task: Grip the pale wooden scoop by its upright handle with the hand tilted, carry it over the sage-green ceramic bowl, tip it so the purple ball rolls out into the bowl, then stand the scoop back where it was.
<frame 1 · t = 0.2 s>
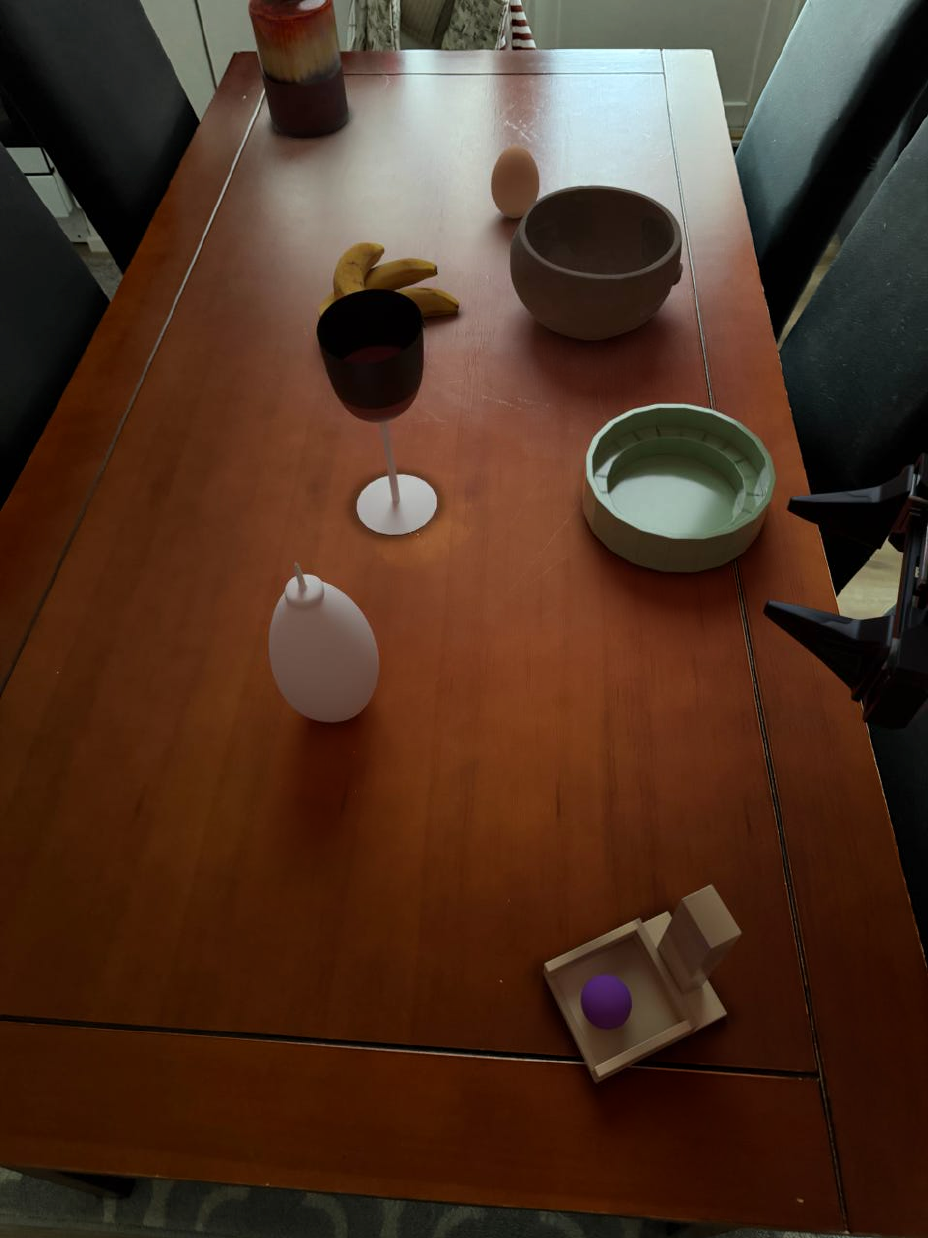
hand: (776, 552, 59), 16 cm above the table, tool horizontal, fingers open, 9 cm apart
vase: (310, 119, 126), on the table
egg: (514, 216, 110), on the table
scoop: (675, 973, 60), on the table, touching ball
banana: (391, 326, 99), on the table
green bowl: (670, 505, 83), on the table
bowl: (590, 312, 99), on the table
sauce bottle: (339, 703, 72), on the table
ball: (606, 1002, 57), point 2 cm above the table, touching scoop
wineglass: (397, 505, 84), on the table
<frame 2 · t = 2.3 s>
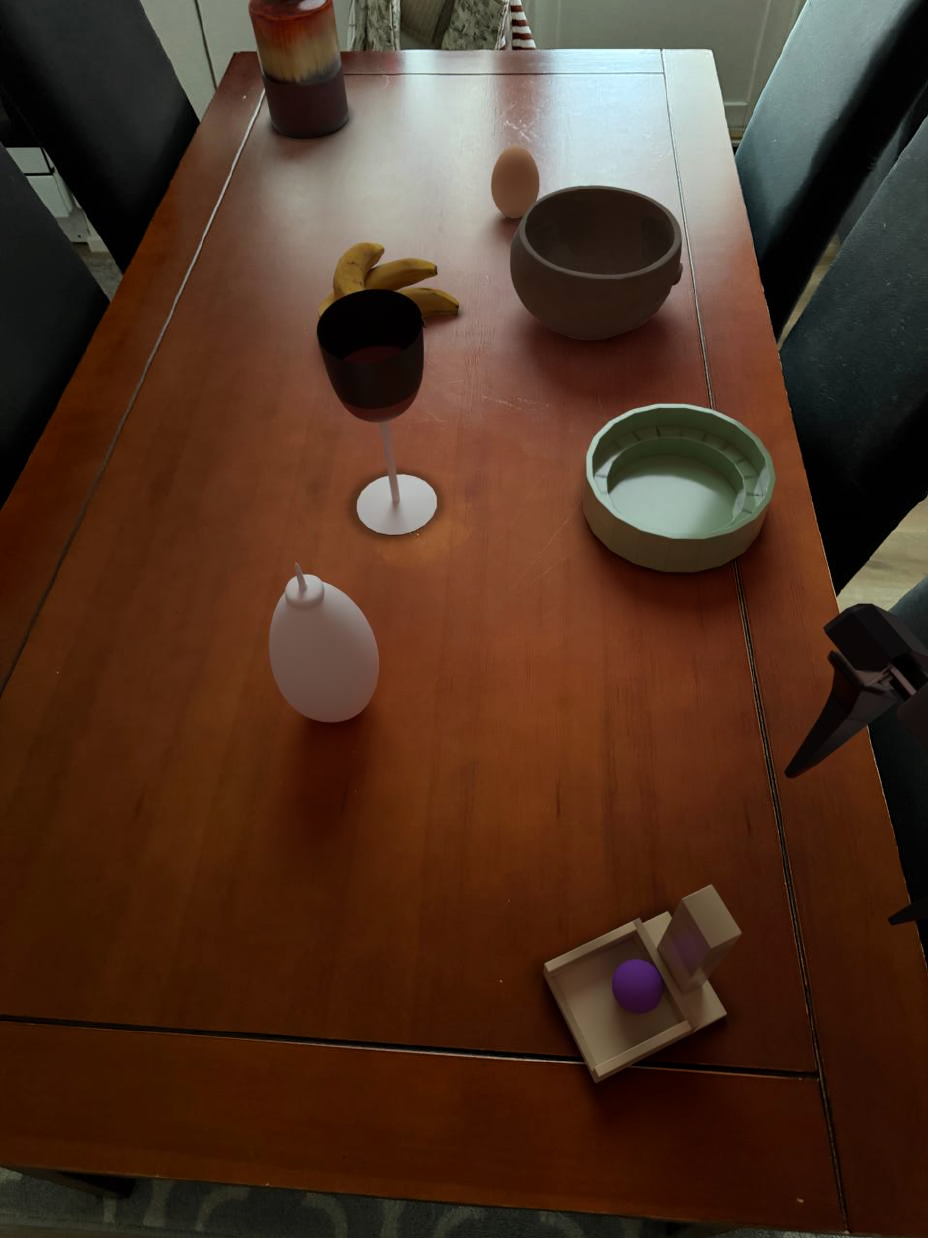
hand: (837, 845, 50), 14 cm above the table, tool tilted 45°, fingers open, 9 cm apart
ball: (637, 986, 57), point 2 cm above the table, tilted 82°, touching scoop
everything else where it was.
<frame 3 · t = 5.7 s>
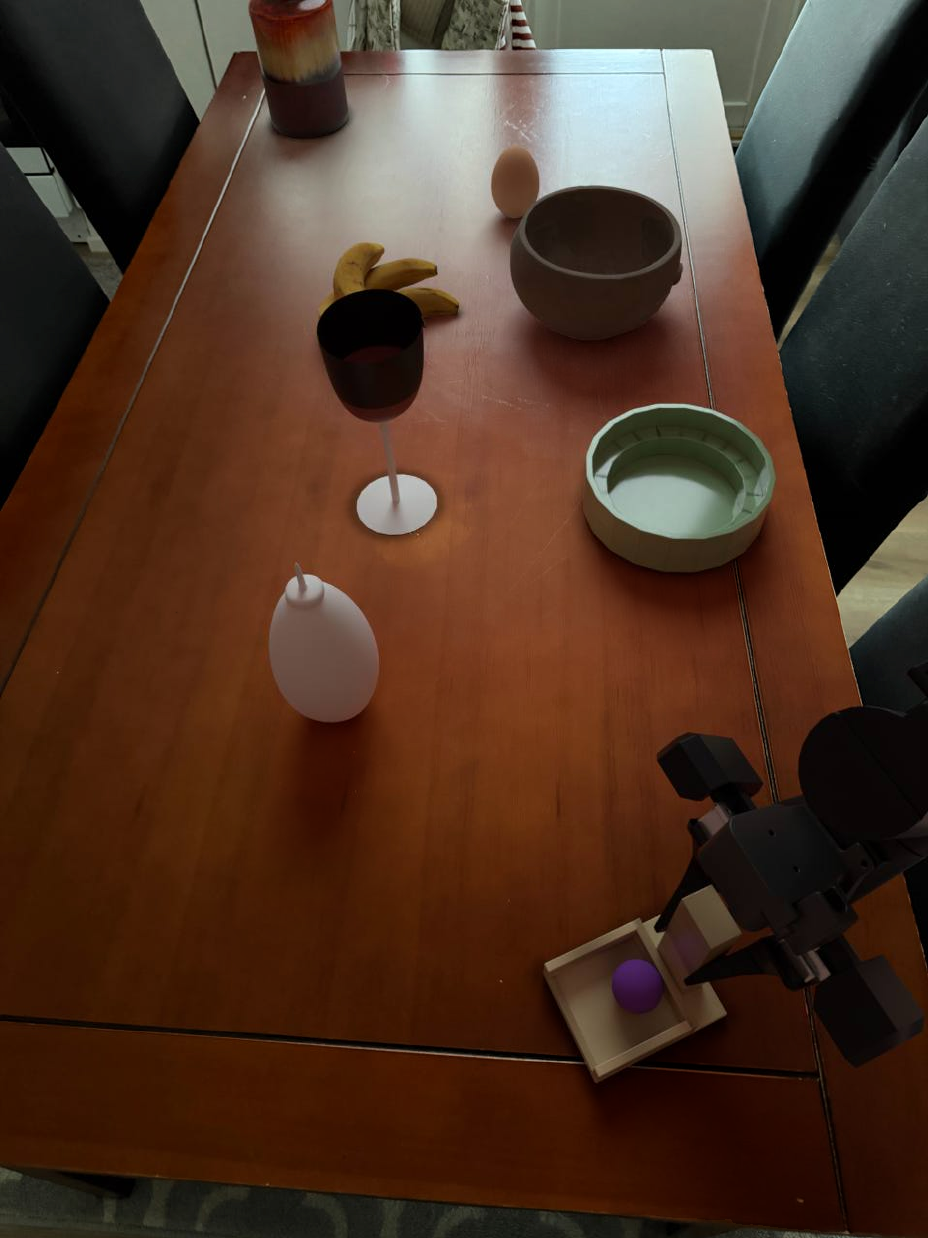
hand: (672, 955, 54), 7 cm above the table, tool tilted 45°, fingers closed on scoop, 3 cm apart
scoop: (675, 973, 60), on the table, touching ball, gripper
everything else where it was.
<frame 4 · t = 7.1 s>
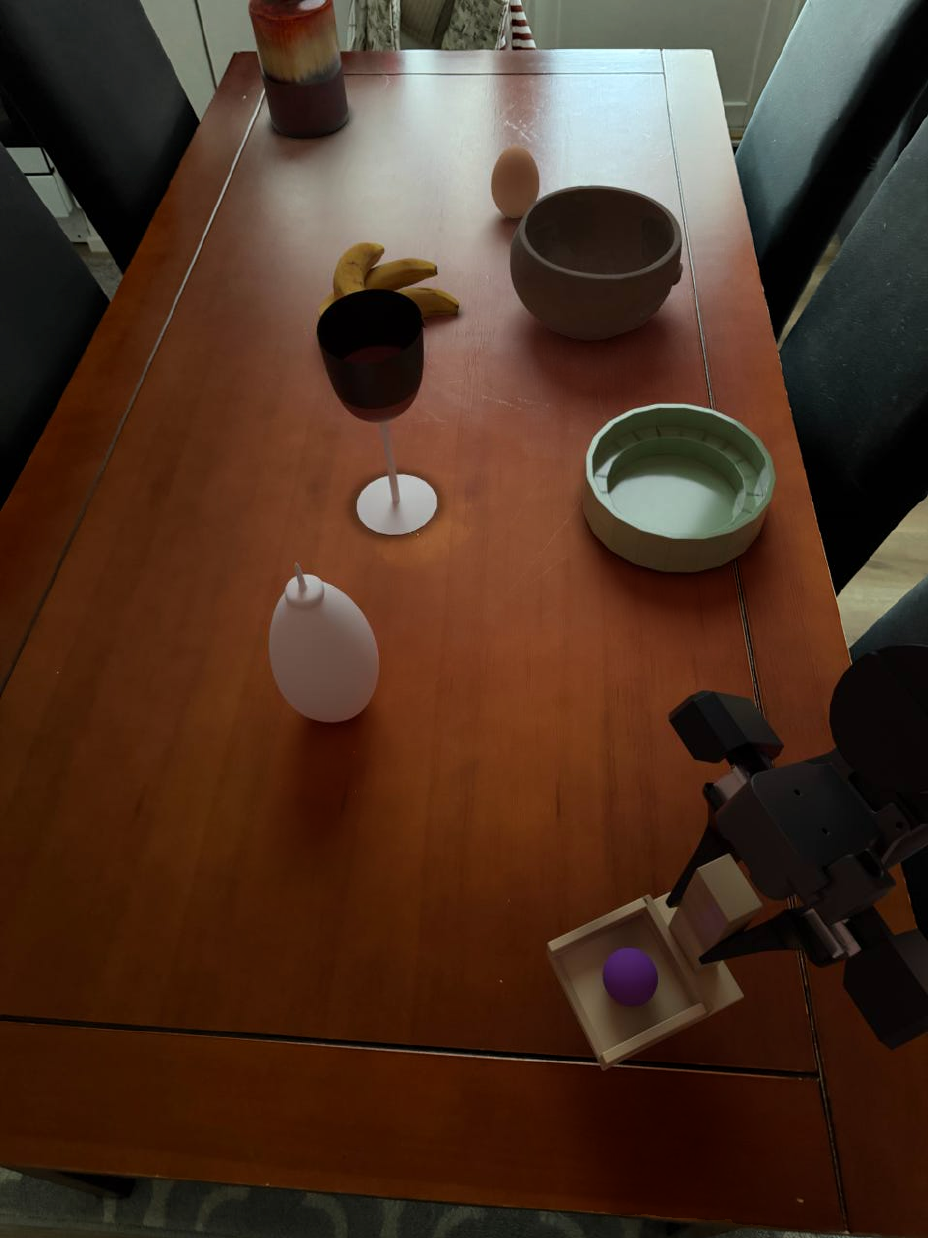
hand: (686, 932, 50), 12 cm above the table, tool tilted 45°, fingers closed on scoop, 3 cm apart
scoop: (688, 953, 56), point 5 cm above the table, touching ball, gripper
ball: (630, 977, 53), point 7 cm above the table, tilted 39°, touching scoop
everything else where it was.
when the fingers open (7 cm above the table, at t = 25.6 s): scoop stays where it is, on the table.
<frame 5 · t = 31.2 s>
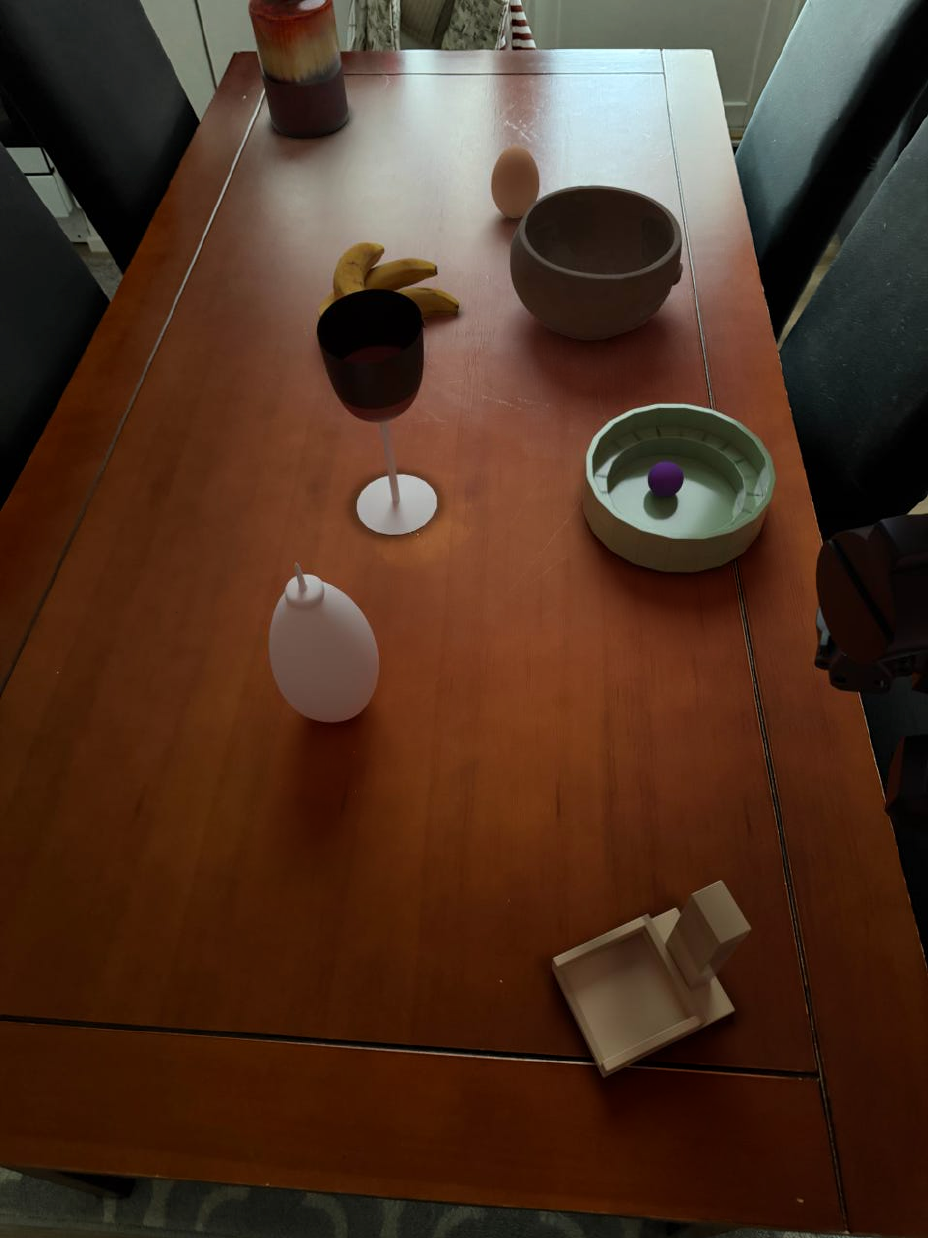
hand: (912, 745, 54), 13 cm above the table, tool pointing down, fingers open, 9 cm apart
scoop: (683, 969, 60), on the table
ball: (665, 479, 82), point 2 cm above the table, tilted 75°, touching green bowl
everything else where it was.
at the end: ball inside the target area in the green bowl (1.5 cm from its centre), point 2.1 cm above the green bowl's base; scoop tilted 0° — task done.
